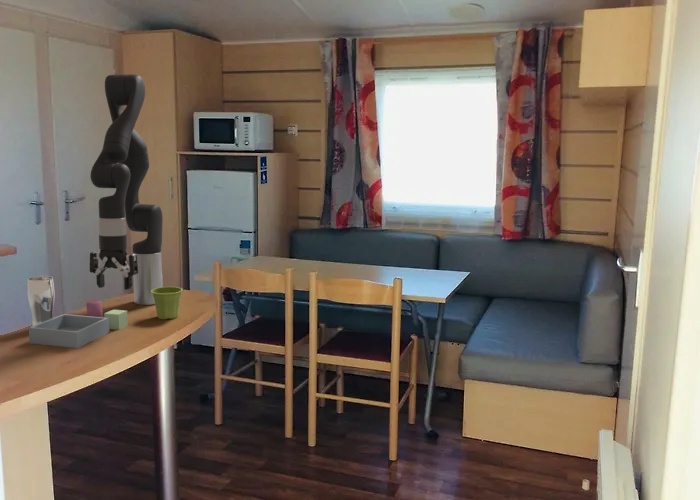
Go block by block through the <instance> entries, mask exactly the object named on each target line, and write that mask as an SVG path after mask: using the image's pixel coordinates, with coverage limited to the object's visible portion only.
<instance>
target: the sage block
mask: <svg viewBox="0 0 700 500" xmlns="http://www.w3.org/2000/svg"><path fill="white" fill-rule="evenodd" d="M103 317H104V318H109V330H117V331H118V330H120V331H121V329H123V328H126V327H128V325H129V321H128V320H129V319H128V310H123V309H122V310H121V309H112V310H108V311H107V312H104V315H103Z"/></svg>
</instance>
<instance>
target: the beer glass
mask: <svg viewBox="0 0 700 500" xmlns="http://www.w3.org/2000/svg"><path fill="white" fill-rule="evenodd" d="M55 295H56V294H55V283H54V277H53V276H51V275H36V276H31V277H29V278H27V299H28V304H29V308H30V311H31V318H32V319H31V321H32V323H31V327H32V326H34V325H37V324H39V323H42V322H44V321H47V320H50V319H52V318H54V314H53V313H54V305H55Z"/></svg>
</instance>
